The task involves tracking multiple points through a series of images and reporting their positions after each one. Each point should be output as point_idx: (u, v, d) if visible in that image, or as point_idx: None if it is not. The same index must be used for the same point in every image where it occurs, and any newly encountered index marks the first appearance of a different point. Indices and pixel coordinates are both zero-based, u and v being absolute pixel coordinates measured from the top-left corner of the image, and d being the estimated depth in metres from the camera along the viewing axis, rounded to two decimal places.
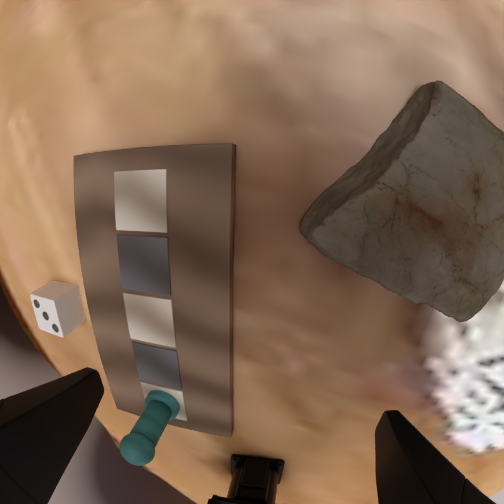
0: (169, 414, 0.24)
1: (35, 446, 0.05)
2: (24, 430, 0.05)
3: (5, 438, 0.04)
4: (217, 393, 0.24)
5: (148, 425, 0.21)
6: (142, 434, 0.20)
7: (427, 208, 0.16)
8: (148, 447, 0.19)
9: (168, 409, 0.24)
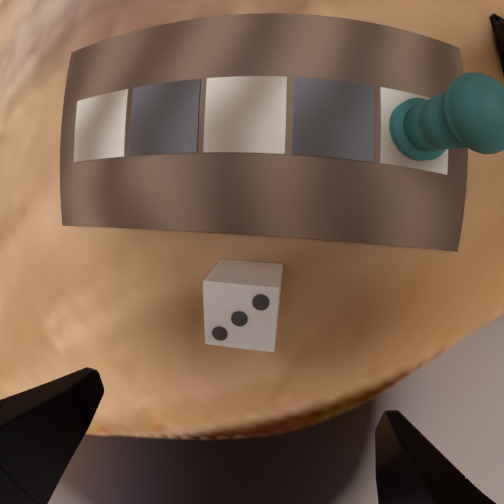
0: None
1: (35, 446, 0.05)
2: (24, 430, 0.05)
3: (5, 438, 0.04)
4: (367, 36, 0.12)
5: (430, 105, 0.09)
6: None
7: None
8: (459, 76, 0.07)
9: (415, 106, 0.12)
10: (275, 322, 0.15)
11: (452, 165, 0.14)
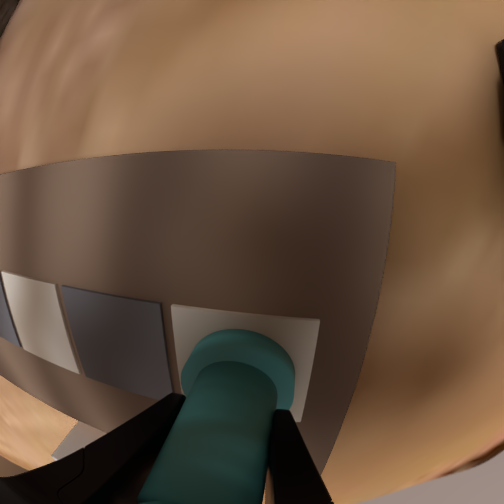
0: (224, 374, 0.07)
1: (130, 496, 0.04)
2: (118, 482, 0.04)
3: (101, 500, 0.03)
4: (151, 192, 0.08)
5: (154, 463, 0.05)
6: (140, 503, 0.04)
7: None
8: None
9: (211, 369, 0.08)
10: None
11: (315, 409, 0.09)
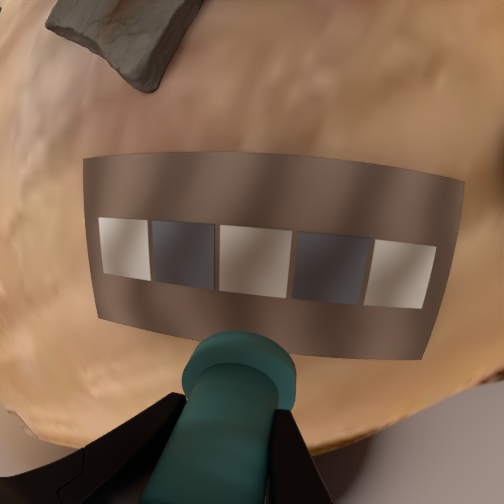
0: (225, 376, 0.07)
1: (130, 496, 0.04)
2: (118, 482, 0.04)
3: (101, 500, 0.03)
4: (373, 183, 0.16)
5: (156, 464, 0.05)
6: None
7: (117, 0, 0.13)
8: None
9: (213, 371, 0.08)
10: None
11: (428, 299, 0.18)
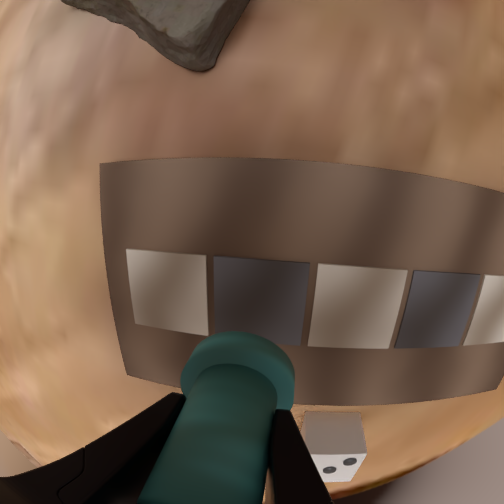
0: (224, 377, 0.07)
1: (130, 496, 0.04)
2: (118, 482, 0.04)
3: (101, 500, 0.03)
4: (489, 211, 0.11)
5: (154, 465, 0.05)
6: None
7: None
8: None
9: (211, 372, 0.08)
10: (356, 468, 0.14)
11: None
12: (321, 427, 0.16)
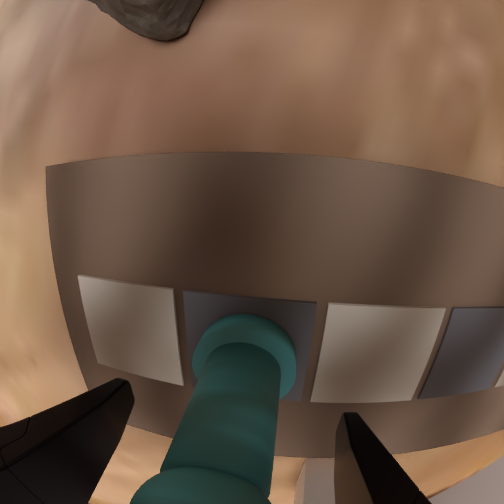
0: (234, 353, 0.08)
1: (67, 466, 0.04)
2: (55, 450, 0.04)
3: (36, 462, 0.04)
4: None
5: None
6: None
7: None
8: (147, 493, 0.04)
9: (222, 350, 0.09)
10: None
11: None
12: (323, 478, 0.12)
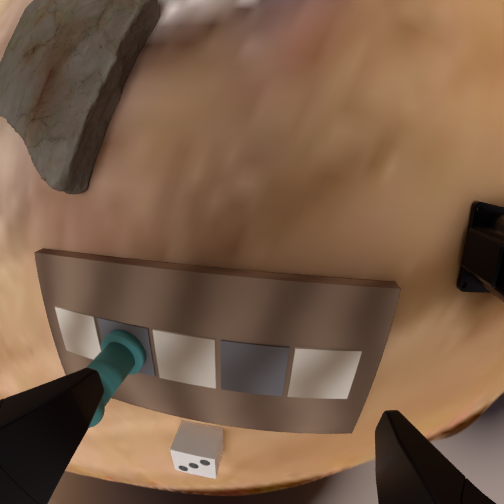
0: (111, 346, 0.18)
1: (35, 446, 0.05)
2: (24, 430, 0.05)
3: (5, 438, 0.04)
4: (293, 299, 0.17)
5: None
6: None
7: (40, 89, 0.14)
8: None
9: (108, 344, 0.19)
10: (214, 469, 0.20)
11: (354, 391, 0.19)
12: (188, 433, 0.22)
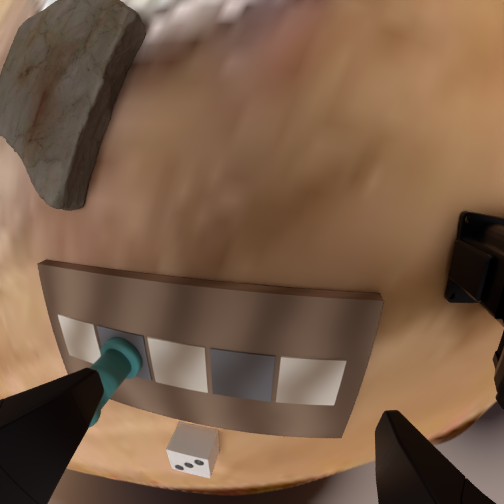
0: (108, 352, 0.19)
1: (35, 446, 0.05)
2: (24, 430, 0.05)
3: (5, 438, 0.04)
4: (277, 311, 0.18)
5: None
6: None
7: (35, 111, 0.15)
8: None
9: (106, 351, 0.20)
10: (208, 469, 0.21)
11: (341, 398, 0.20)
12: (184, 434, 0.23)
